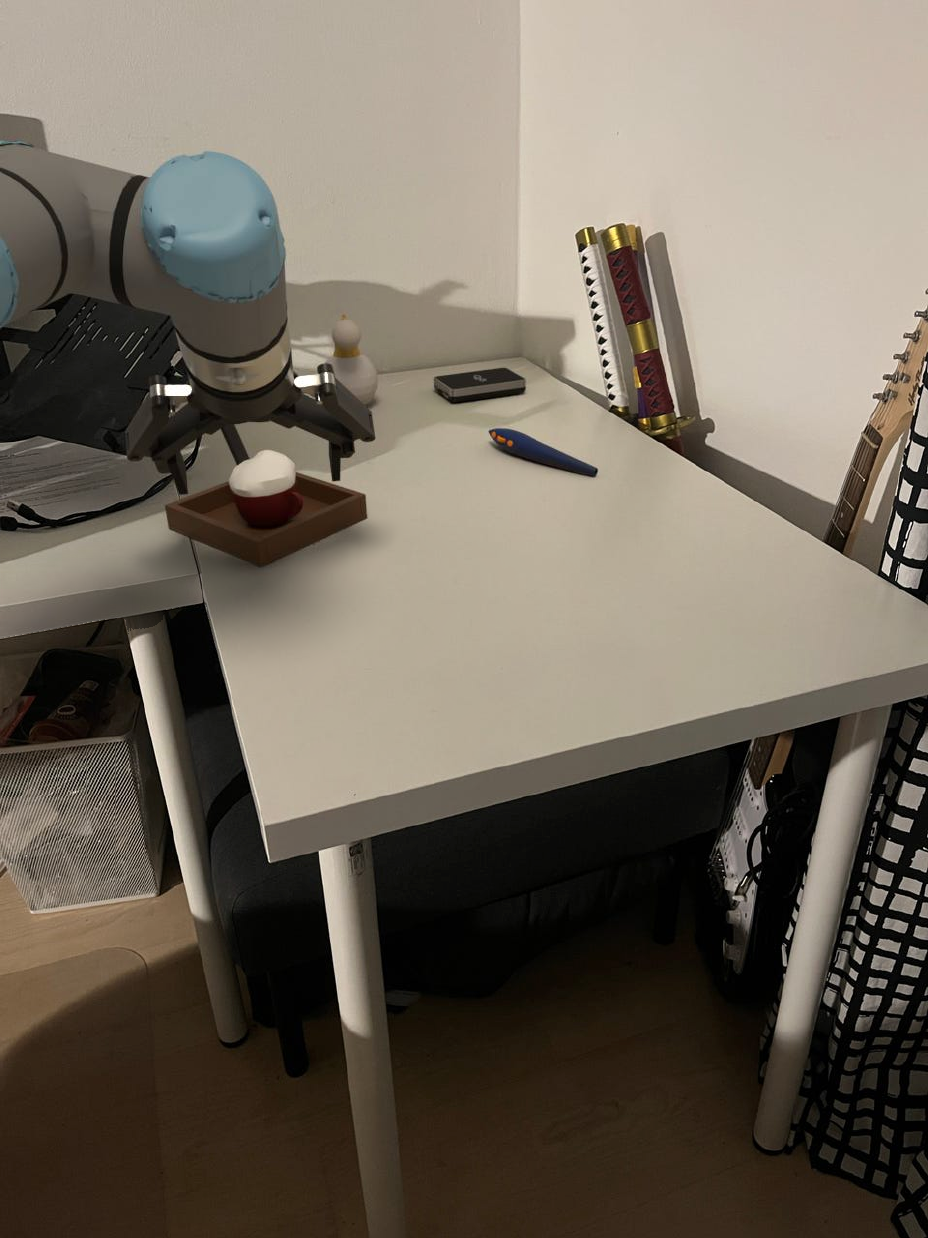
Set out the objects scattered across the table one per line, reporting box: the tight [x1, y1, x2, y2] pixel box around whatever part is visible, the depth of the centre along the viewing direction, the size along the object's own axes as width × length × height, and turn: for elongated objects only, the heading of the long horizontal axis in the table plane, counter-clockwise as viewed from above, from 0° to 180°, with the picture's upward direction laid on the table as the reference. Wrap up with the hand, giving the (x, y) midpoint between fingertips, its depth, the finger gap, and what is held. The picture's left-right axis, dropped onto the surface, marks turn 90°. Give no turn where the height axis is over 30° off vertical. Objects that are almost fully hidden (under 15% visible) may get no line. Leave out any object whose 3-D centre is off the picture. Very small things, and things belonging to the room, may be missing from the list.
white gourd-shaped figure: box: [324, 314, 379, 406], centre depth 123 cm, size 8×10×12 cm
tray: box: [164, 471, 368, 568], centre depth 94 cm, size 14×14×2 cm
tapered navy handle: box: [487, 427, 599, 477], centre depth 108 cm, size 16×4×2 cm, turn 45°
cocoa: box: [220, 424, 303, 527], centre depth 91 cm, size 10×6×12 cm, turn 34°
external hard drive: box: [433, 366, 527, 403], centre depth 131 cm, size 7×11×2 cm, turn 113°
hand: (259, 474), depth 88 cm, fingers open, 13 cm apart
